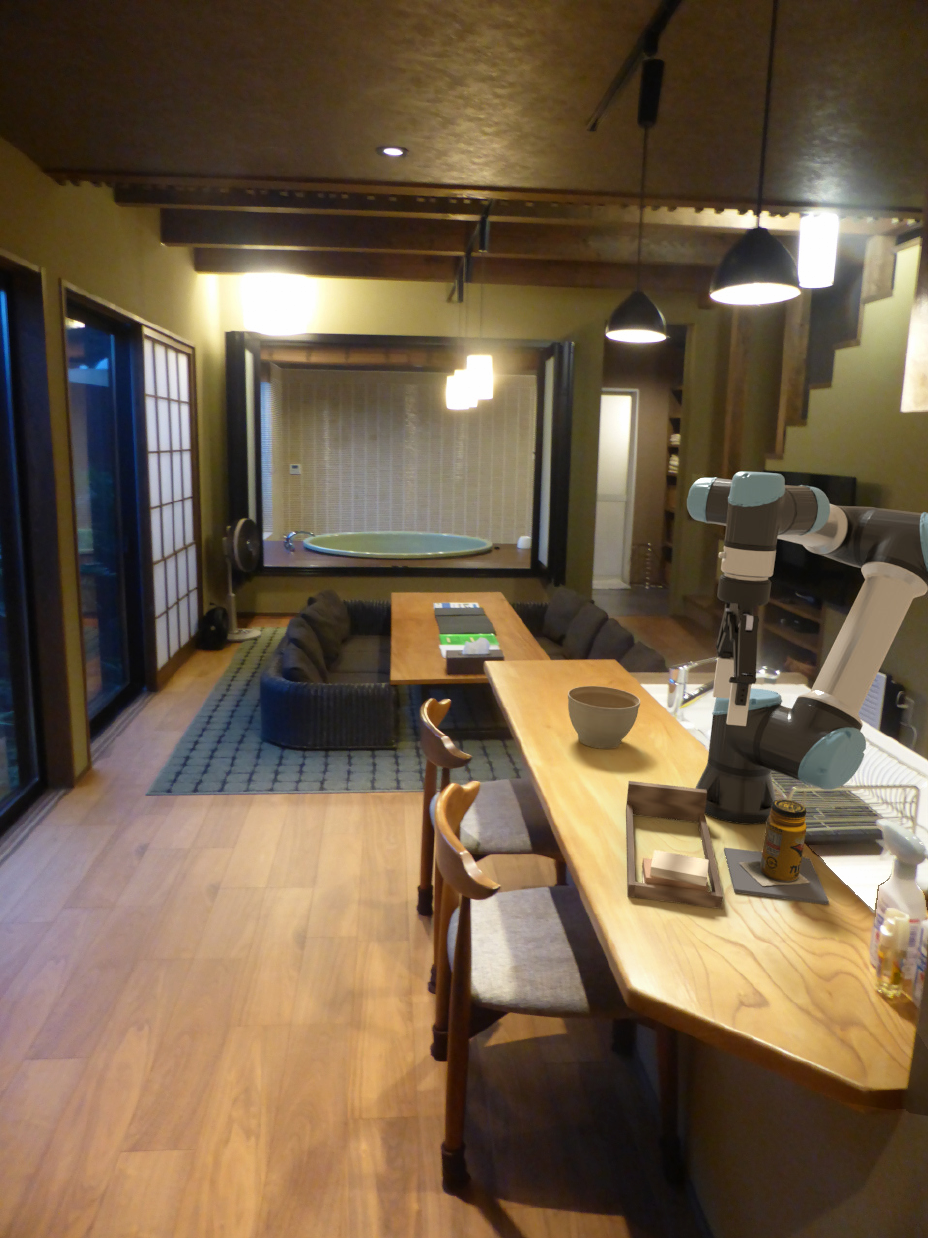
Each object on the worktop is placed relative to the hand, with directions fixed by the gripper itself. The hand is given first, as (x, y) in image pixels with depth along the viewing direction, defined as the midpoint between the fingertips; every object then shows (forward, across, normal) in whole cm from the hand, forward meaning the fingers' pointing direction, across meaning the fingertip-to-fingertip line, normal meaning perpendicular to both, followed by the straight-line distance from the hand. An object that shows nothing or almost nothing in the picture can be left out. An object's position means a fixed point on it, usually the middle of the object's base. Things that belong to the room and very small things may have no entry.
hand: (728, 710), depth 137 cm
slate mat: (+28, -1, +11) cm, 30 cm away
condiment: (+27, -1, +11) cm, 29 cm away
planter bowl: (+28, -56, -16) cm, 65 cm away
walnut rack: (+28, -5, -6) cm, 29 cm away
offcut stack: (+28, +6, -6) cm, 29 cm away
